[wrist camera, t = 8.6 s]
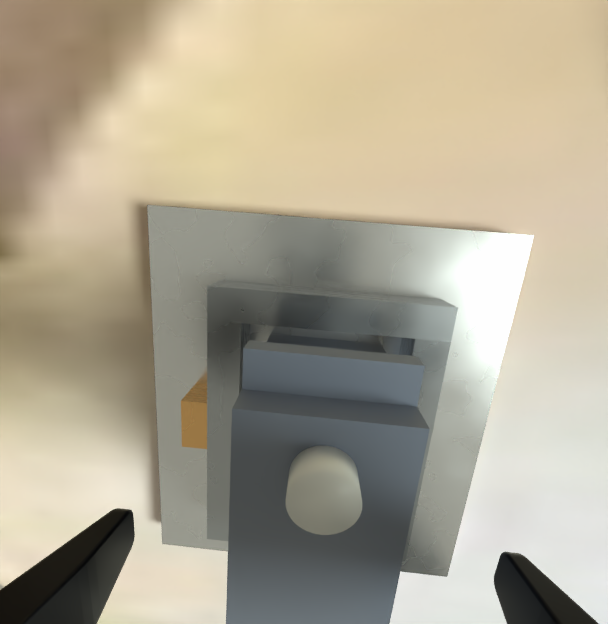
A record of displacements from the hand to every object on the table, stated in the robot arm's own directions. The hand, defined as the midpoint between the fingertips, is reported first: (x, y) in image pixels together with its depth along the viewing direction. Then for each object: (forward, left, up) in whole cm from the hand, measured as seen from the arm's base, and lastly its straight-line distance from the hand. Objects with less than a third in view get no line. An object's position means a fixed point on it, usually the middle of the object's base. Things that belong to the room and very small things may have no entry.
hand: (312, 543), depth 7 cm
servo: (0, 0, -6) cm, 6 cm away
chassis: (0, 0, -7) cm, 7 cm away
